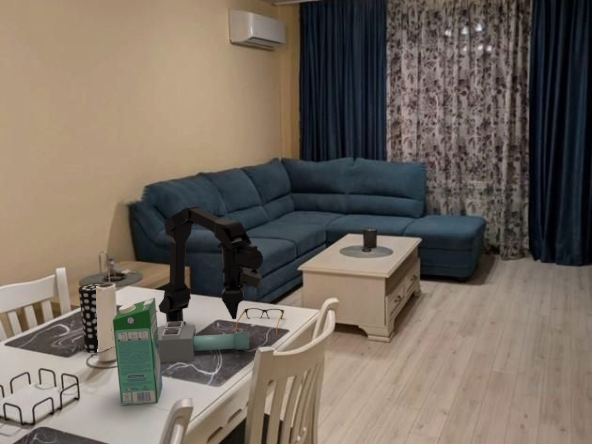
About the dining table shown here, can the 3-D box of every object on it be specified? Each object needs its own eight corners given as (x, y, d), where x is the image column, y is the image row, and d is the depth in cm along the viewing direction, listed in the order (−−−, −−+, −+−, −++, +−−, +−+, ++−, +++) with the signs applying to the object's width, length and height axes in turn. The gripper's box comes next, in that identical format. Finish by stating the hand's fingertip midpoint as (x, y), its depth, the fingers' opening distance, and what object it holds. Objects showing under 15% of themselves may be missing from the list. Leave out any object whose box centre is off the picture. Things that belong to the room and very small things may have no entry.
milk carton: (128, 388, 151) (119, 299, 146) (162, 386, 152) (155, 297, 147) (121, 405, 142) (111, 311, 137) (157, 402, 143) (149, 308, 138)
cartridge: (182, 355, 169) (180, 339, 168) (184, 348, 174) (183, 332, 173) (249, 351, 171) (248, 335, 170) (249, 344, 176) (248, 328, 175)
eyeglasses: (285, 319, 199) (284, 308, 198) (276, 335, 185) (276, 323, 184) (245, 318, 201) (245, 307, 201) (234, 333, 187) (233, 322, 187)
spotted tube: (104, 353, 174) (97, 291, 170) (79, 352, 176) (72, 290, 172) (117, 343, 182) (111, 283, 178) (94, 341, 184) (88, 282, 180)
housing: (158, 348, 177) (155, 322, 175) (196, 345, 178) (195, 320, 176) (151, 363, 166) (149, 336, 164) (193, 360, 167) (191, 333, 165)
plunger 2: (167, 333, 169) (166, 328, 169) (178, 332, 169) (177, 328, 169) (165, 337, 166) (165, 332, 166) (176, 337, 166) (176, 332, 166)
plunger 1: (170, 326, 175) (169, 321, 175) (180, 325, 175) (180, 320, 175) (168, 330, 172) (168, 325, 171) (179, 329, 172) (178, 324, 172)
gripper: (259, 271, 160) (261, 323, 163) (259, 254, 178) (260, 302, 181) (220, 273, 159) (223, 325, 162) (223, 256, 177) (225, 303, 181)
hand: (234, 313), depth 172 cm, fingers open, 9 cm apart
